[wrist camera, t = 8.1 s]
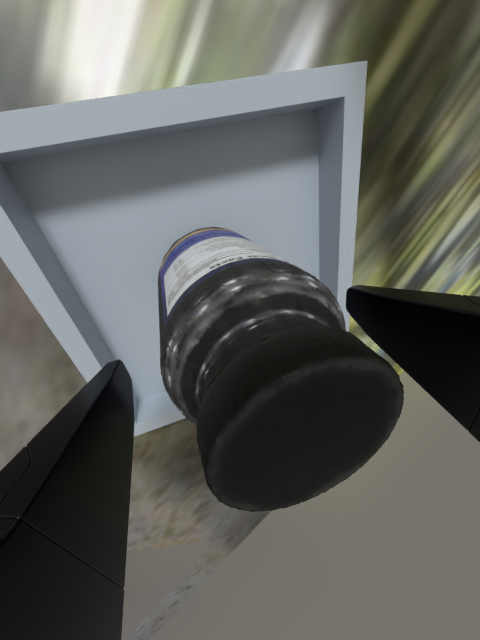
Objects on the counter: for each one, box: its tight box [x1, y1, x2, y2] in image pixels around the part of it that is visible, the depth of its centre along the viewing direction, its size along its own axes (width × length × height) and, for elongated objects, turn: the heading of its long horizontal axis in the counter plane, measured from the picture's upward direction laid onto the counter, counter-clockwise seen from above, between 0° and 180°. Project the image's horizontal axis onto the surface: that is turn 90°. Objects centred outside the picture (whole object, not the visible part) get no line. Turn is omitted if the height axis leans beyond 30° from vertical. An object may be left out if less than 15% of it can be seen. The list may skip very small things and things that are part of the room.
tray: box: [0, 60, 368, 437], centre depth 14 cm, size 16×16×2 cm
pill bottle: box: [158, 227, 404, 512], centre depth 10 cm, size 6×6×11 cm
